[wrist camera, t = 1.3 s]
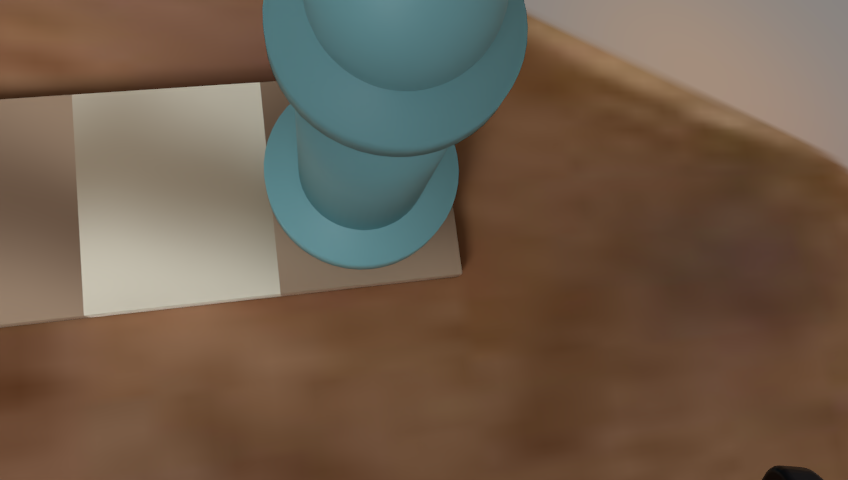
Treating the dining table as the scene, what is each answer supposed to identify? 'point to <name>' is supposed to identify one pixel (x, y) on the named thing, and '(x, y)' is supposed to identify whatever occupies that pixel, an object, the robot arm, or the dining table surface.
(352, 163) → the pawn
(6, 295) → the board
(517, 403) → the dining table surface
